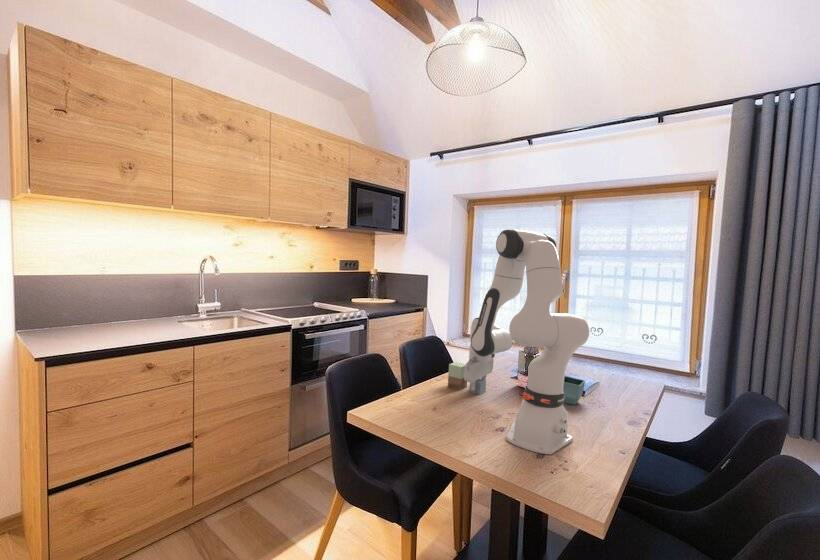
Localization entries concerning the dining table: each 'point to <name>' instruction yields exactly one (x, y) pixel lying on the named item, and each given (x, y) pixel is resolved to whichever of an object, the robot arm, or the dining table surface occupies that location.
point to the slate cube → (479, 386)
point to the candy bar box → (522, 360)
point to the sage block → (456, 370)
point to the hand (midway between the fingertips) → (477, 387)
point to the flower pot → (573, 389)
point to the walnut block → (456, 383)
